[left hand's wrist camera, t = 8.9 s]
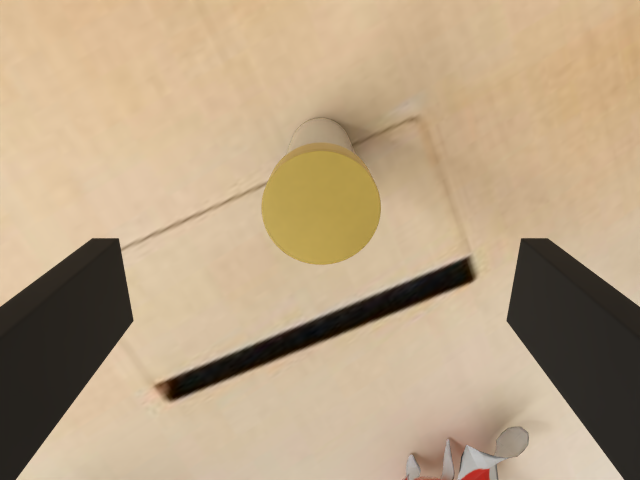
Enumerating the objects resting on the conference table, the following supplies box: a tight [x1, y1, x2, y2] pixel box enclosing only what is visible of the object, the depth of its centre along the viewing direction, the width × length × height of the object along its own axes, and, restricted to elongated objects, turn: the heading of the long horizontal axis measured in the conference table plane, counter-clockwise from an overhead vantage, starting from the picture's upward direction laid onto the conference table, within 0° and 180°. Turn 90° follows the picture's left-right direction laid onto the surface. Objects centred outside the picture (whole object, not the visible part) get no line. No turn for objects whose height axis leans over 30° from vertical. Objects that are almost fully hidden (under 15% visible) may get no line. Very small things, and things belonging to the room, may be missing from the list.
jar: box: [286, 118, 356, 155], centre depth 27 cm, size 5×5×16 cm
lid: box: [262, 143, 381, 265], centre depth 20 cm, size 5×5×2 cm
